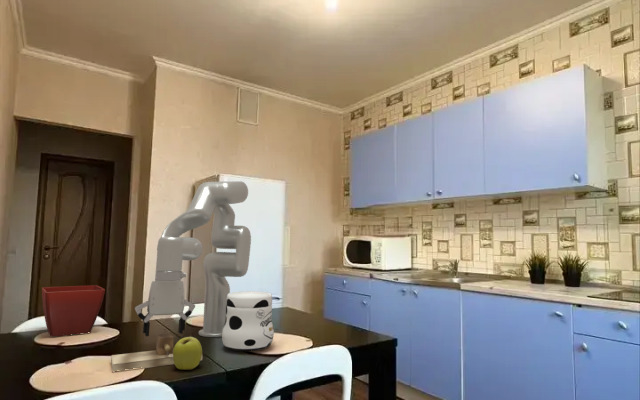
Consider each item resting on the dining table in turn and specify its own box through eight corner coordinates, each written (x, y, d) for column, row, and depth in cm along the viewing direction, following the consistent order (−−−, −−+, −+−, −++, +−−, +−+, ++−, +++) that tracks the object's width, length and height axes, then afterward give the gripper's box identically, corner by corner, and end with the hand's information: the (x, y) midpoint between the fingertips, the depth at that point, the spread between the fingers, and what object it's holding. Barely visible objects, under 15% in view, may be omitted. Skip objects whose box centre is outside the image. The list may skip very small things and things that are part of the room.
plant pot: (93, 325, 163) (96, 284, 164) (102, 334, 148) (105, 289, 150) (37, 331, 151) (41, 287, 153) (40, 341, 136) (45, 292, 138)
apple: (192, 357, 116) (198, 326, 115) (203, 372, 110) (209, 339, 109) (165, 362, 111) (171, 330, 110) (175, 378, 105) (181, 344, 104)
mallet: (169, 349, 120) (170, 333, 121) (175, 357, 112) (176, 340, 113) (155, 351, 118) (156, 334, 119) (160, 359, 110) (161, 341, 111)
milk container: (281, 351, 128) (282, 295, 130) (229, 358, 120) (232, 298, 122) (262, 339, 143) (264, 290, 145) (215, 344, 135) (218, 292, 137)
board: (194, 352, 126) (194, 345, 126) (202, 360, 117) (202, 353, 117) (110, 362, 113) (111, 355, 114) (112, 372, 105) (113, 364, 105)
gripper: (194, 275, 127) (190, 329, 125) (136, 276, 118) (131, 334, 116) (199, 277, 121) (196, 334, 118) (139, 277, 112) (133, 339, 110)
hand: (163, 334), depth 117 cm, fingers open, 9 cm apart
